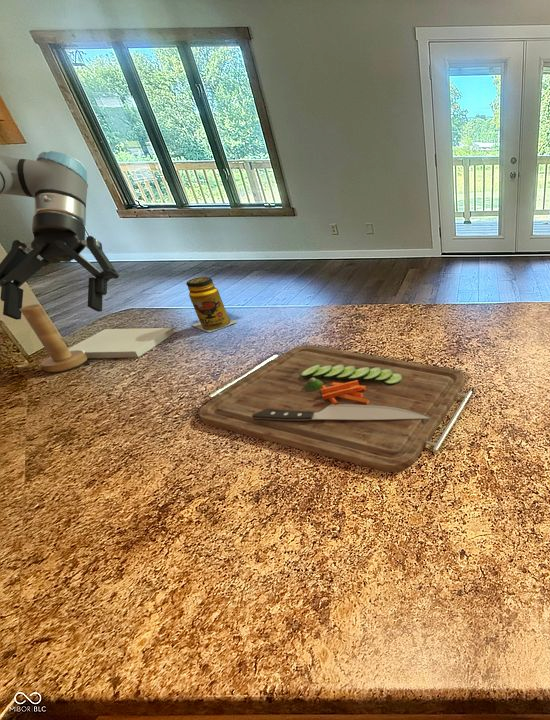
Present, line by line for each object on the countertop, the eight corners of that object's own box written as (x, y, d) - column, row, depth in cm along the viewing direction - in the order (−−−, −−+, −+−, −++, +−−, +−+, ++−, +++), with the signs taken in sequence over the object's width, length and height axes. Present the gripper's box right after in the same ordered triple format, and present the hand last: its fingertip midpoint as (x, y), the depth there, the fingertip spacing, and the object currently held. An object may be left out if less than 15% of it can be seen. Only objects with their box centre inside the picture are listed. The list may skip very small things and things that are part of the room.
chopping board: (481, 379, 74) (481, 366, 73) (421, 481, 52) (420, 465, 51) (294, 347, 87) (290, 335, 85) (182, 418, 65) (174, 403, 63)
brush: (39, 379, 75) (-6, 314, 68) (69, 362, 81) (29, 301, 74) (72, 378, 76) (30, 313, 69) (99, 362, 81) (63, 300, 74)
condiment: (209, 333, 93) (190, 286, 87) (191, 325, 97) (172, 280, 91) (238, 322, 99) (222, 277, 93) (220, 315, 102) (204, 272, 96)
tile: (63, 358, 82) (59, 352, 82) (108, 334, 93) (105, 328, 92) (138, 357, 83) (135, 351, 82) (174, 333, 93) (172, 327, 93)
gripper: (-34, 213, 75) (-47, 312, 70) (116, 207, 81) (114, 298, 76) (4, 235, 82) (-5, 327, 77) (139, 228, 88) (139, 312, 83)
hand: (54, 313), depth 76 cm, fingers open, 13 cm apart
